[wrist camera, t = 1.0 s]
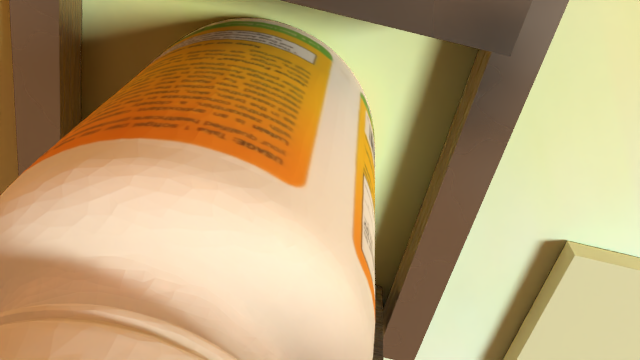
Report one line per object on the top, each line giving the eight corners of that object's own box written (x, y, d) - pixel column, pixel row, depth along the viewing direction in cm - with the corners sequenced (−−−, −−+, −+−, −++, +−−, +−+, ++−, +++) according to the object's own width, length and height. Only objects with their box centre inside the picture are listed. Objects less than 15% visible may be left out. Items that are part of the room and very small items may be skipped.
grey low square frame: (410, 336, 16) (417, 428, 13) (44, 253, 15) (-24, 331, 13) (569, -48, 11) (631, -22, 8) (30, -184, 10) (-85, -202, 8)
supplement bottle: (100, 107, 13) (-392, 526, 5) (271, -42, 11) (-40, 211, 3) (250, 258, 15) (91, 760, 7) (420, 152, 13) (507, 667, 5)
